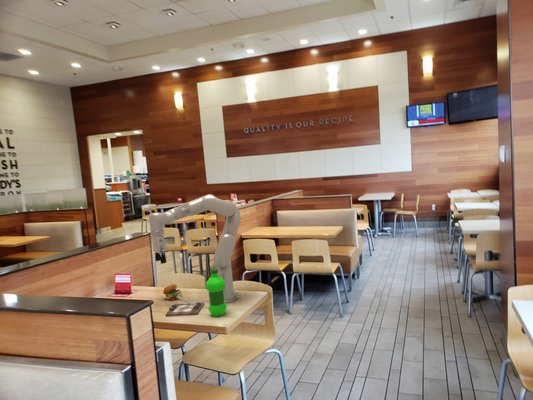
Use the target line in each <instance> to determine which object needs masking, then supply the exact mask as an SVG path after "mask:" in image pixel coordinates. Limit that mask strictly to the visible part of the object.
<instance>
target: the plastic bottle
mask: <svg viewBox="0 0 533 400" xmlns="http://www.w3.org/2000/svg"><path fill="white" fill-rule="evenodd" d="M209 272H210V275H211V276H210V277H209V278H208V279H207V281H206V282H205V289H206V291H207V292H208V297H209V306H208V311H209V313H210V314H212V315H213V316H214V317H221V316H223V315H224V314H225V312H226V311H227V307H228V306H227V303H225V302H224V291H223V289H224V287H225V281H224V279H222V278H221V277H219V276H218V274H217V273H218V269H216V268H211V269H210V270H209Z"/></svg>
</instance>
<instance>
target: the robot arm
mask: <svg viewBox="0 0 533 400" xmlns="http://www.w3.org/2000/svg"><path fill="white" fill-rule="evenodd" d="M205 211H210V212H212V213H214V214H217V215H220V216H222V217H226V219H225V222H224V226H223V229H222V232H221V234H220V237H219V240H218V243H217V246H216V250H215V253H214V255H213V262H214V266H215V269H218V273H217V274H218V276H219V277H221V278H222V279H224V281H225V287H224V289H223V291H224V302H225V303H226V304H227V303H231V302H234V301H235V300H237V297H241V296H242V293H241V292H240V291H239V292H236V290H235V289H234V282H233V269H232V256H233V253H234V250H235V246H236V240H237V235H238V230H239V228H240V227H239V226H240V223H241V213H240V209H239V208H238V206H237V205H236V204H235V203H233V202H232V201H231V200H223V199H220V198H218V197H216V196H215V195H214V194H211V193H208V194H205V195H203V196H201V197H200V196H199V197H198V198H196V199H192V200H190V201H187V202H185V203H184V204H181V205H179V206H176V207H174V208H171V209H169V210H166V211H164V212H151V213H149V214H148V222H149V228H150V229H149V230H150V237H151V238H152V246H153V250H154V251H153V252H154V257H155V262H159V261H160V264H163V265H164V264H166V263H167V257H166V256H167V255H166V252H167V245H166V244H167V243H166V240H165V229H164V225H171V224H173V223H174V222H176V221H178V220H180V219H183V218H187V217H193V216H195V215H198V214H201V213H203V212H205Z"/></svg>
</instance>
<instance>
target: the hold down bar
mask: <svg viewBox="0 0 533 400" xmlns="http://www.w3.org/2000/svg"><path fill="white" fill-rule="evenodd" d="M174 297H176V298H178V299H177V300H180V301H183V302H185V304H190V305H192V306H194V307H195V305H197V304H195V303H196V302H193V301H190V300H189V299H187V298H184V297H183V296H182V297H181V296H179V295H177V294H175V295H174Z"/></svg>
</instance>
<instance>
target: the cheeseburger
mask: <svg viewBox="0 0 533 400" xmlns="http://www.w3.org/2000/svg"><path fill="white" fill-rule="evenodd" d="M177 287H178V285H177V284H176V283H175V284H174V283H172V284H170V285H168V286H166V287H164V289H163V294H164V295H165V298H166V300H168V301H174V300H179V299H178V298H176V297H174V295H175V294H177V295H179V296H181V297H183V295H182V290H180V289H177Z"/></svg>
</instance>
